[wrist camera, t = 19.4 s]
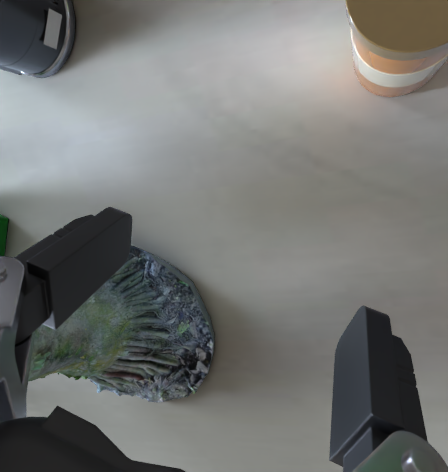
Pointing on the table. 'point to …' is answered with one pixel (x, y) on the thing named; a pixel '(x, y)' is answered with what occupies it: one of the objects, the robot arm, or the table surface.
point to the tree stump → (133, 334)
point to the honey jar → (397, 43)
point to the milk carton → (3, 233)
